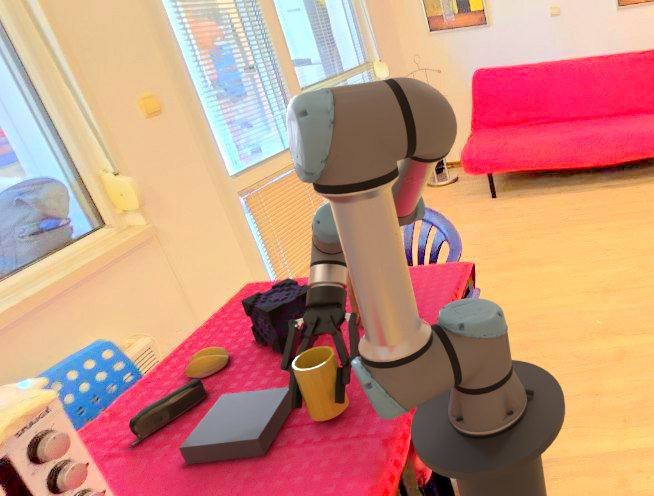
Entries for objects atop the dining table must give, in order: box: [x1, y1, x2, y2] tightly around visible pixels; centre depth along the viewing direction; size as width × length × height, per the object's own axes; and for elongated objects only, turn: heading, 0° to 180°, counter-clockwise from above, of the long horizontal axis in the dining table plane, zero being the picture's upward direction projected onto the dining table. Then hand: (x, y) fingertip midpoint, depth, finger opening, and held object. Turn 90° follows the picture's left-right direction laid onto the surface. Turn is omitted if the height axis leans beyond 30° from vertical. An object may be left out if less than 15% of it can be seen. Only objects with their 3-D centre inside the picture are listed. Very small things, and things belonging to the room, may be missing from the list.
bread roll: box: [184, 345, 230, 379], centre depth 122 cm, size 8×9×4 cm
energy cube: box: [240, 277, 309, 356], centre depth 130 cm, size 12×12×12 cm
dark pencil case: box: [128, 378, 208, 447], centre depth 106 cm, size 5×3×15 cm
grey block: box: [178, 386, 293, 465], centre depth 101 cm, size 14×14×4 cm
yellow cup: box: [292, 345, 350, 422], centre depth 102 cm, size 7×7×12 cm
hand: (318, 405), depth 99 cm, fingers closed on yellow cup, 7 cm apart
